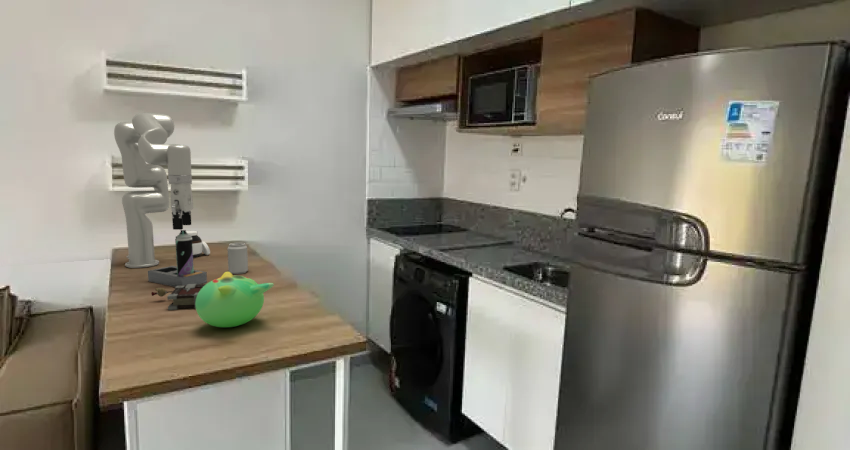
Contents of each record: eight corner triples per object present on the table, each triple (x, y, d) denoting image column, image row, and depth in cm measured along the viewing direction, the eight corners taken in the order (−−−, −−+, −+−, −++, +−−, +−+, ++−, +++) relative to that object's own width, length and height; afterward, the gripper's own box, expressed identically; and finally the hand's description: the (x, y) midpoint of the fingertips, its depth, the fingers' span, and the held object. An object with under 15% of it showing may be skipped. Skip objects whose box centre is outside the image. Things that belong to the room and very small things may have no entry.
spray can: (182, 286, 178) (179, 231, 175) (175, 283, 181) (171, 230, 178) (197, 283, 182) (194, 229, 179) (189, 280, 185) (186, 228, 183)
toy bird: (245, 311, 150) (243, 264, 148) (278, 323, 140) (276, 273, 138) (186, 326, 136) (183, 275, 134) (217, 341, 126) (214, 285, 124)
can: (251, 270, 203) (250, 241, 201) (243, 274, 195) (241, 245, 194) (234, 270, 204) (232, 241, 202) (224, 274, 196) (223, 244, 195)
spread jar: (175, 257, 227) (174, 232, 225) (193, 253, 238) (192, 229, 236) (197, 259, 223) (195, 234, 222) (214, 254, 234) (213, 230, 232)
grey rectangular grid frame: (148, 281, 184) (147, 270, 184) (173, 275, 193) (172, 265, 192) (182, 288, 175) (181, 276, 174) (207, 282, 183) (206, 271, 183)
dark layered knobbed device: (230, 307, 155) (230, 292, 154) (142, 313, 149) (141, 296, 148) (235, 294, 169) (235, 280, 168) (155, 299, 163) (154, 284, 162)
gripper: (183, 181, 168) (185, 231, 171) (198, 178, 185) (200, 223, 188) (160, 181, 167) (162, 231, 170) (176, 178, 184) (179, 223, 187)
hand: (182, 227), depth 179 cm, fingers open, 9 cm apart
